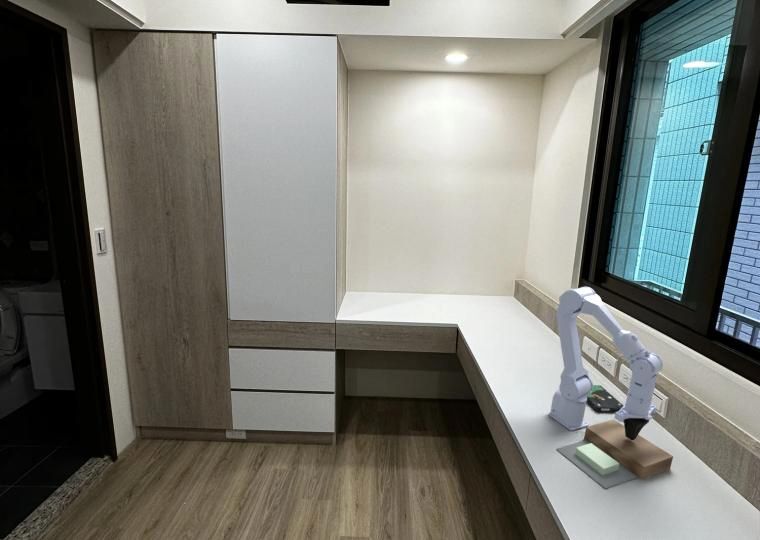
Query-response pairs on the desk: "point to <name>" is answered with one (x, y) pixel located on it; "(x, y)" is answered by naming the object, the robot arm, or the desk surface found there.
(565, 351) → the robot arm
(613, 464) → the pale green block
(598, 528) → the desk surface
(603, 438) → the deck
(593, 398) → the disk drive
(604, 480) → the mat
